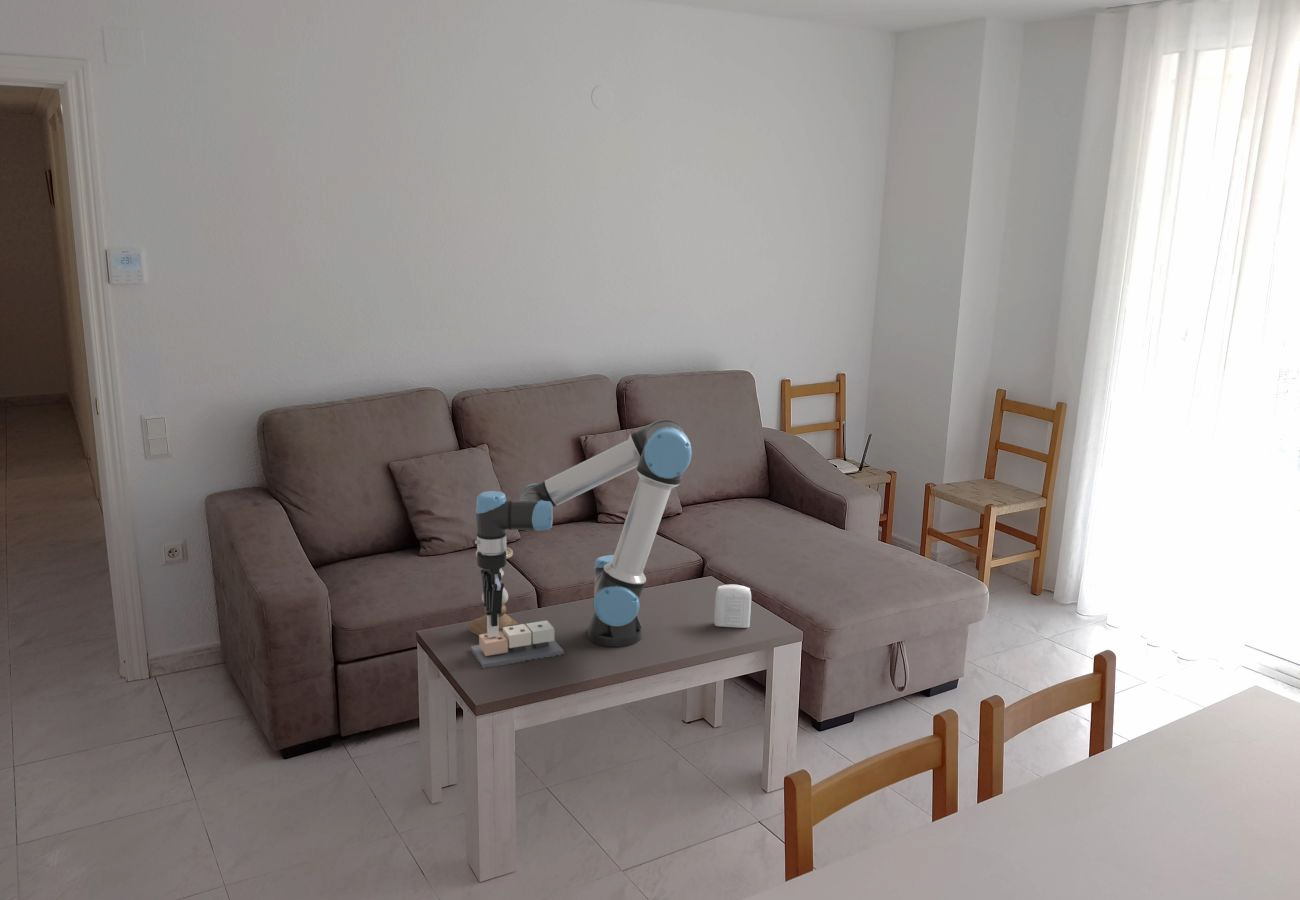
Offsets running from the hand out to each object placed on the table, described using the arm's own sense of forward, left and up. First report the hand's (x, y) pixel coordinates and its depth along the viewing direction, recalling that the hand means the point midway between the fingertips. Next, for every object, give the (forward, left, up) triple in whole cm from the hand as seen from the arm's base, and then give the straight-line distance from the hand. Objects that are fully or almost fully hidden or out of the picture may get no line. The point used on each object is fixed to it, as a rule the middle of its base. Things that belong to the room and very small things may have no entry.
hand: (493, 635), depth 269 cm
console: (-7, 0, -6) cm, 9 cm away
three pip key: (0, 0, -4) cm, 4 cm away
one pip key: (-13, 0, -3) cm, 13 cm away
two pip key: (-7, 0, -3) cm, 7 cm away
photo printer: (-69, +6, -6) cm, 70 cm away
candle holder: (-5, -15, -6) cm, 17 cm away
